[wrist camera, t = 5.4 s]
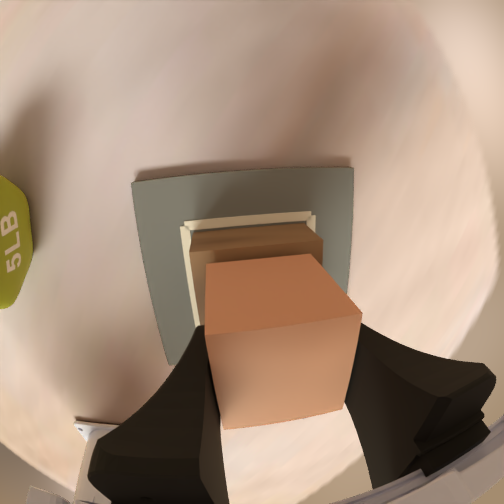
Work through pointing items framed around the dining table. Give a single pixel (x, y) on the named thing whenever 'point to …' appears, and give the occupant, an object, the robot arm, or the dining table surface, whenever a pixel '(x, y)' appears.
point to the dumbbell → (13, 241)
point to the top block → (278, 339)
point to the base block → (247, 249)
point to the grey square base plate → (231, 217)
